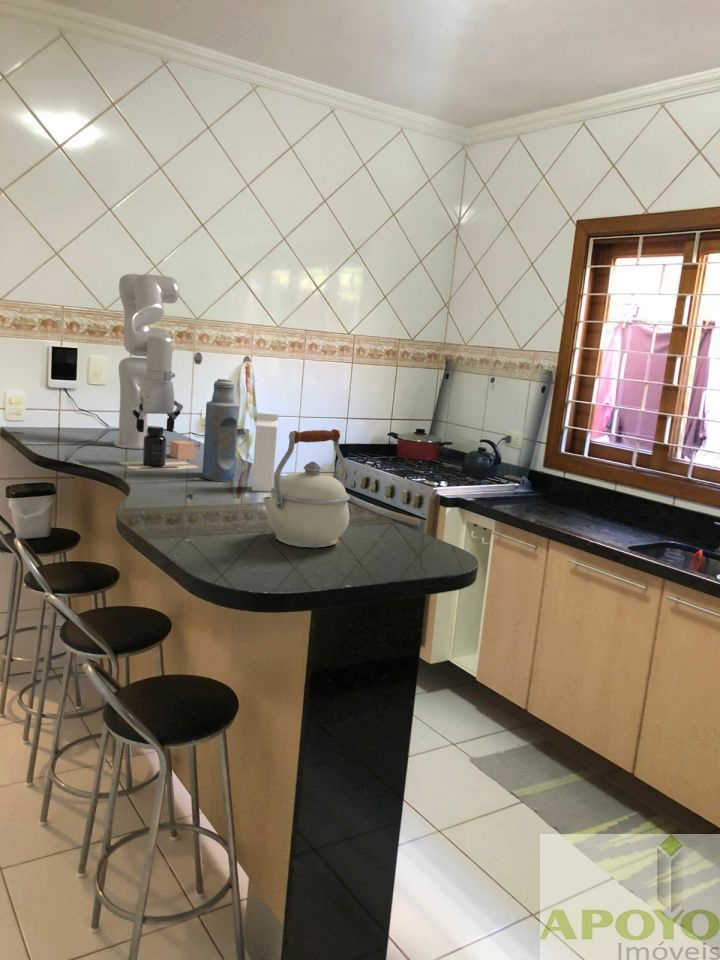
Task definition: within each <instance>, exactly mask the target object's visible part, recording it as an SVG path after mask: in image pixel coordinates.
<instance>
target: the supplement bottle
mask: <svg viewBox="0 0 720 960" xmlns="http://www.w3.org/2000/svg"><path fill="white" fill-rule="evenodd" d="M163 434H164V426H155V425H150V426H149V425H148V426H147V431H146V436H145V437H144V445H143V449H142V461H143V464H144V465H145V466H151V467H161V466H164V465H165V461H167V460H166V458H167V456H166V455H167V438H166V437H165V436H164V435H163Z"/></svg>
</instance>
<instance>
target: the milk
mask: <svg viewBox="0 0 720 960" xmlns="http://www.w3.org/2000/svg"><path fill="white" fill-rule="evenodd" d="M278 427H279V415H278V414H271V413H261V412H258V413H257V415H256V423H255V434H254V435H255V439H254V451H253V465H252V468H253V469H252V477H251V478H252V480H251V491H255V492H266V491H270V490H271V488H273V487H274V486H273V485H274V476H275V464H276V449H277V438H278Z"/></svg>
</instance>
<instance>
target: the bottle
mask: <svg viewBox="0 0 720 960" xmlns="http://www.w3.org/2000/svg"><path fill="white" fill-rule="evenodd" d="M234 391H235V383H234V382H233V381H232V380H231V379H227V378H226V379H225V378H217V379H216V381H214V383H213V393H212V396H211V397H212V398H211V400H210V401H206V405H205V420H204V422H205V424H204V439H203V440H204V441H203V457H202V475H201V476H203V477H202V478H203V479H205V480H207V481H208V480H209V481H213V482H229V481H233V480H234V479H235V470H236V462H237V461H236V459H237V458H236V457H237V443H238V428H239V426H238V425H239V412H240V405H239V403H235V402H234V401H235V395H234V394H235V393H234Z"/></svg>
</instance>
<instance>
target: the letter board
mask: <svg viewBox="0 0 720 960" xmlns="http://www.w3.org/2000/svg"><path fill="white" fill-rule="evenodd" d="M117 463H118V464H120V465H123V466H125V467H127V468H128V469H131V470H134V471H137V472H138V471H159V470H160V471H162V470H163V471H164V470H165V471H166V470H167V471H168V470H190V469H191V470H195V469H196V470H197V469H201V467H200V466H197V465H195V464H192V463H190V462H187V461H184V460H183V459H178V460H166V461H165V465H164V466H161V467H151V466H145V465H144V464H143V460H141V461H117Z"/></svg>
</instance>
